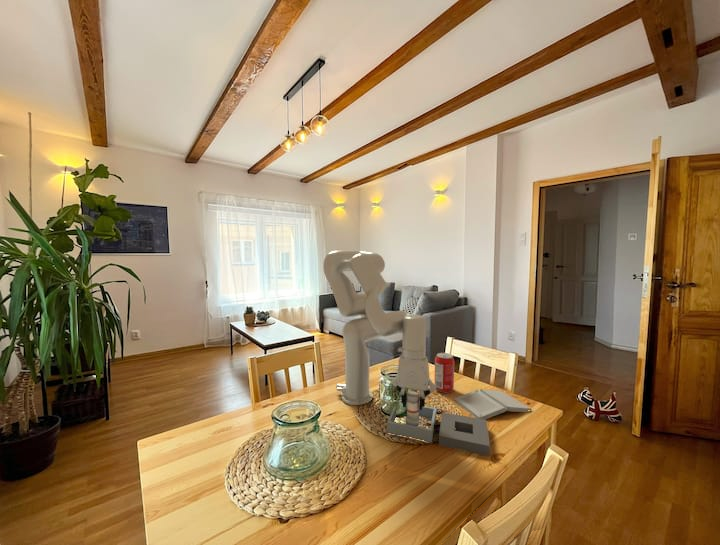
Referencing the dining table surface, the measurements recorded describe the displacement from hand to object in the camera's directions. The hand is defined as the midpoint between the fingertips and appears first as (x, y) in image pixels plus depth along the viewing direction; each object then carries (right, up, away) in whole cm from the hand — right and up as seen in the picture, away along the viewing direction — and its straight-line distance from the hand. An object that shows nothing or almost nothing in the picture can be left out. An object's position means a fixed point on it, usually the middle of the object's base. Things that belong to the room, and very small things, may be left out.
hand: (412, 406), depth 98 cm
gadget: (+33, -7, +14) cm, 36 cm away
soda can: (+18, -5, +27) cm, 33 cm away
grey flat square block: (+15, -7, -5) cm, 17 cm away
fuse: (0, -6, 0) cm, 6 cm away
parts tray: (0, -7, 0) cm, 7 cm away
